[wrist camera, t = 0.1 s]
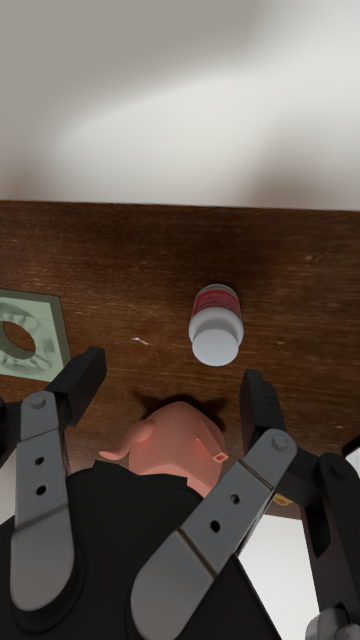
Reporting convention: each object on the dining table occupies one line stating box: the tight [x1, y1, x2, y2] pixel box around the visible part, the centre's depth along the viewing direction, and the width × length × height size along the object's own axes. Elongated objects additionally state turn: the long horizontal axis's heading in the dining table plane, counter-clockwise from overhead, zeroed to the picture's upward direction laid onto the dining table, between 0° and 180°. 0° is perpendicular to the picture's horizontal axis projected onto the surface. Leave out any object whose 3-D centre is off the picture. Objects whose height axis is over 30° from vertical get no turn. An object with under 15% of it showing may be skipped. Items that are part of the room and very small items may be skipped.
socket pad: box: [0, 289, 71, 382], centre depth 41 cm, size 16×16×2 cm
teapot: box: [99, 401, 229, 498], centre depth 42 cm, size 18×18×14 cm
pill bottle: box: [189, 284, 243, 366], centre depth 30 cm, size 6×6×11 cm
